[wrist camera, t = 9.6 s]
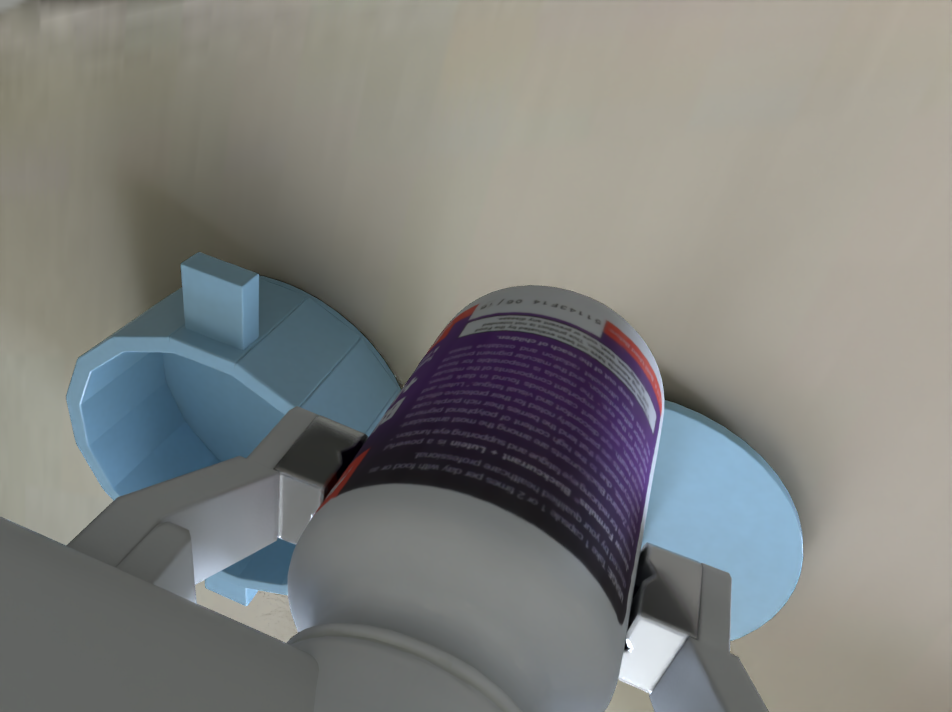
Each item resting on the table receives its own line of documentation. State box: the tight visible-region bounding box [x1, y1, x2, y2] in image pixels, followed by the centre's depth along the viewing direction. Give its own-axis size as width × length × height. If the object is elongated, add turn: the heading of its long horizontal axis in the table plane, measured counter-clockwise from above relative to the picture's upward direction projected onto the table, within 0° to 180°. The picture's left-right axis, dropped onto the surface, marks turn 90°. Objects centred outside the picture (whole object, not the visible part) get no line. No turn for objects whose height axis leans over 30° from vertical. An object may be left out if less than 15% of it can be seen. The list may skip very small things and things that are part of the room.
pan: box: [66, 252, 401, 606], centre depth 30 cm, size 13×19×5 cm
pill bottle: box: [287, 285, 664, 712], centre depth 12 cm, size 5×5×10 cm
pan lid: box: [641, 400, 803, 641], centre depth 28 cm, size 14×14×5 cm
